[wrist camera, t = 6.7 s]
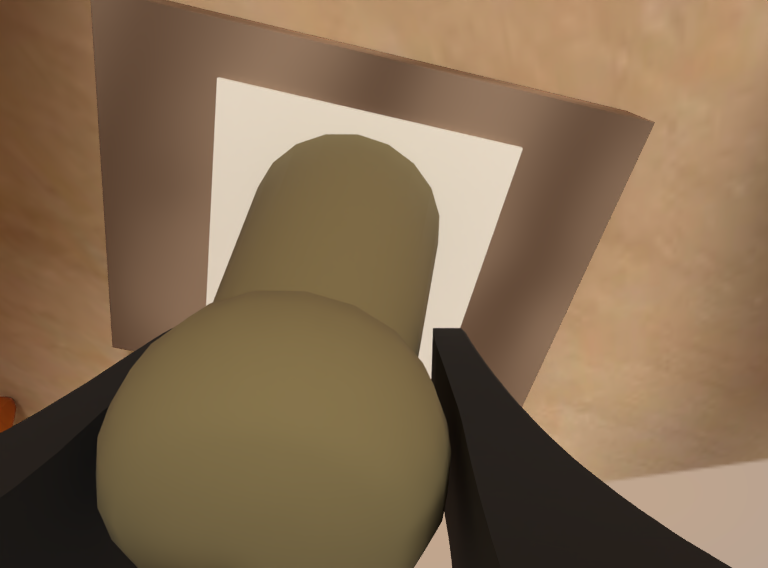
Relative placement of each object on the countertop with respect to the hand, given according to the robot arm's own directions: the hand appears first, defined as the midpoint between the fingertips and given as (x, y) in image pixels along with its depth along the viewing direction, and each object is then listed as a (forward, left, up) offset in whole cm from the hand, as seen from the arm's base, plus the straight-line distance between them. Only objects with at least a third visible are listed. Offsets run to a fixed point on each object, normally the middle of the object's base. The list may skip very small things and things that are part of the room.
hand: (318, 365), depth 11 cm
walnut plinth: (0, 0, -8) cm, 8 cm away
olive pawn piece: (0, -1, -6) cm, 6 cm away
